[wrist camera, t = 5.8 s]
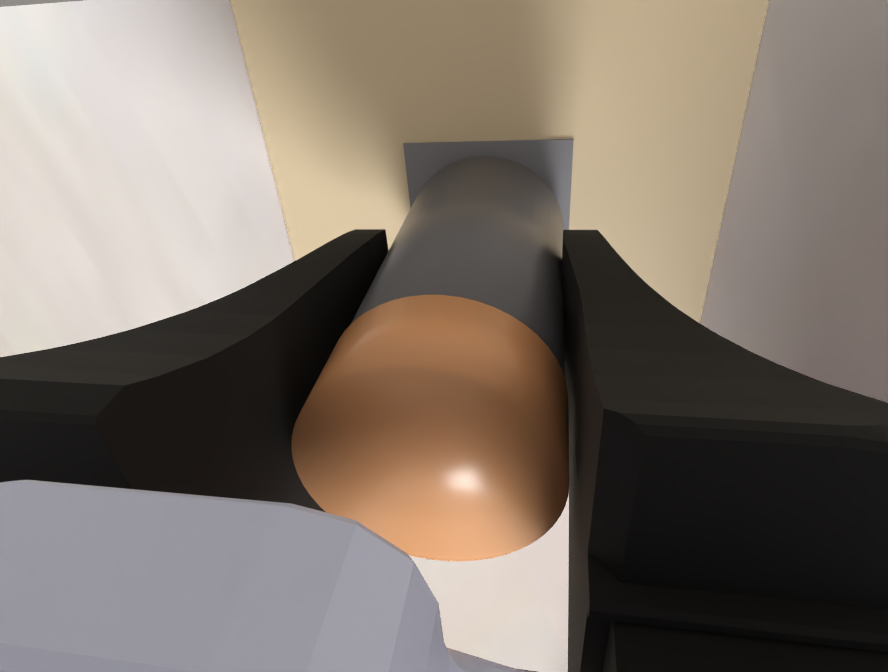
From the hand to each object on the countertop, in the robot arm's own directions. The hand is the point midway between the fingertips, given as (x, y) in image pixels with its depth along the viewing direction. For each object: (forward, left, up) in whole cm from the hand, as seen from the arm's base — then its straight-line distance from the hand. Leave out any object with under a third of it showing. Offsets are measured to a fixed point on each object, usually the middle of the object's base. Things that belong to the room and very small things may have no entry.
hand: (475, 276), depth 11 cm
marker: (0, 0, -2) cm, 2 cm away
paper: (0, 0, -3) cm, 3 cm away
